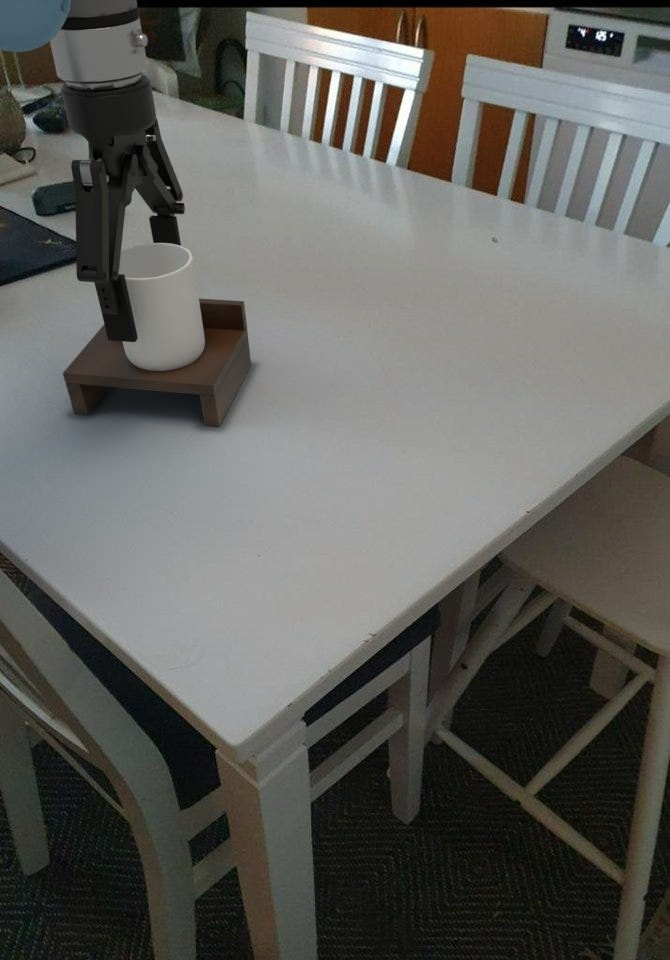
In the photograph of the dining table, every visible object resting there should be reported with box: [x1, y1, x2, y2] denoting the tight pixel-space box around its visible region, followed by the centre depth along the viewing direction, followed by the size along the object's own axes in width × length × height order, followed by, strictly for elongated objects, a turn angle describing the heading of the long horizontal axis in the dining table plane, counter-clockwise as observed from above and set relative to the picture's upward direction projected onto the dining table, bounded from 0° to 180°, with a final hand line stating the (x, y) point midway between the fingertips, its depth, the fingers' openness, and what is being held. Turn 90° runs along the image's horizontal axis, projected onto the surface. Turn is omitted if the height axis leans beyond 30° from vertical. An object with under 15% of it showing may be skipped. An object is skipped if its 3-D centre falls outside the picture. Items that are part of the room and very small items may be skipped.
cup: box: [119, 242, 205, 371], centre depth 82 cm, size 8×12×10 cm
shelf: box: [62, 297, 252, 428], centre depth 86 cm, size 16×12×8 cm
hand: (149, 306), depth 82 cm, fingers open, 13 cm apart
